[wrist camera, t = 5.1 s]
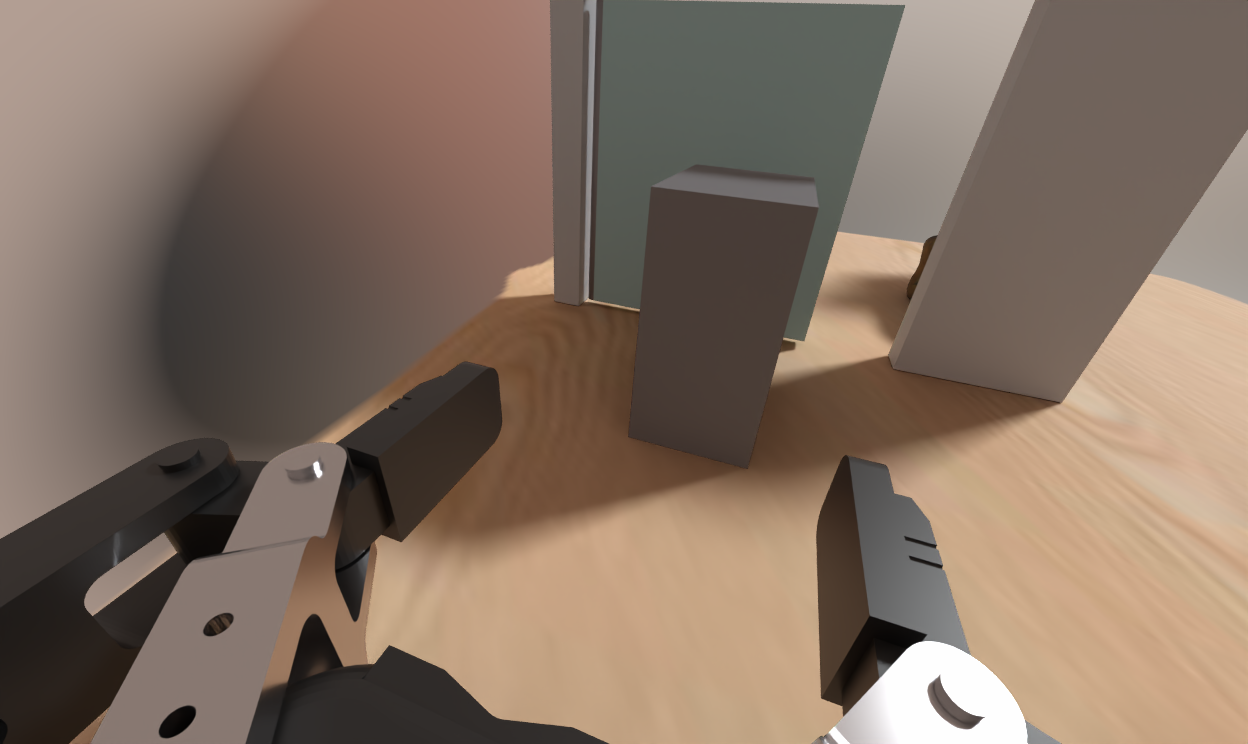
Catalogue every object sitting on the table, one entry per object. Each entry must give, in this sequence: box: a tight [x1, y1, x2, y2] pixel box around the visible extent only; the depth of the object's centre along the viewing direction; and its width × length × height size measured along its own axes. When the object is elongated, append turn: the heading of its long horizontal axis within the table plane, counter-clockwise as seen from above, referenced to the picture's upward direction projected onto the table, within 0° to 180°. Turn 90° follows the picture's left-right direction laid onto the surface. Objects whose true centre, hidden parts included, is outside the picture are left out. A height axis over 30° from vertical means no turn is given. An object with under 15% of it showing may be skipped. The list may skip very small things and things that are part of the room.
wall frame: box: [550, 0, 1248, 403], centre depth 26 cm, size 32×2×22 cm, turn 71°
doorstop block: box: [628, 164, 819, 469], centre depth 21 cm, size 6×8×11 cm
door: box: [588, 0, 905, 341], centre depth 29 cm, size 16×2×18 cm, turn 71°
